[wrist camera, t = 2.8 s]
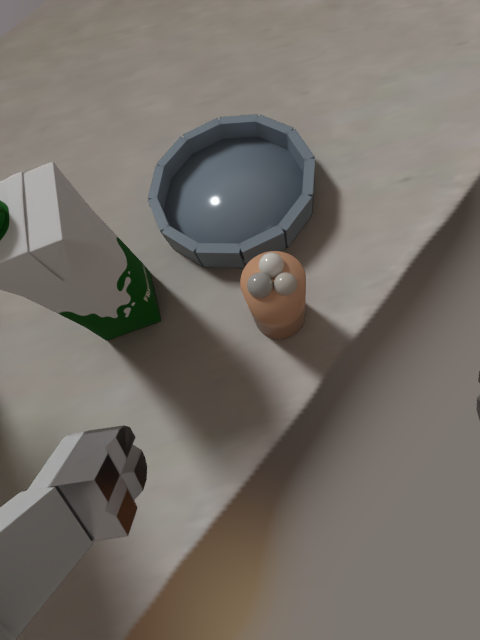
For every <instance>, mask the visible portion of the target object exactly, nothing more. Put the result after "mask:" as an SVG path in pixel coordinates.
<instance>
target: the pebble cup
mask: <svg viewBox="0 0 480 640" xmlns="http://www.w3.org/2000/svg"><path fill="white" fill-rule="evenodd" d="M240 284H241V290H242V293H243V295H244V297H245V300H246V302H247V304H248V307H249V309H250V311H251V313H252V316H253V318H254V320H255V323H256V325H257V327H258V329H259V330H260V331H261V332H262V333H263V334H264V335H266V336H268V337H270V338H273V339H286V338H289V337H291V336H293V335H295V334H296V333H297V332H298V331H299V330H300V329H301V328H302V326H303V324H304V321H305V296H306V276H305V271H304V269H303V267H302V265H301V263H300V262H299V261H298V260H297V259H296V258H295V257H293V256H292V255H290V254H288V253H285V252H280V251H269V252H265V253H262V254H259V255H257V256H256V257H254V258H253V259H252V260H250V261H249V262H248V264H247V265H246V266H245V268H244V270H243V272H242V275H241V280H240Z"/></svg>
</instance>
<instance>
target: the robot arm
mask: <svg viewBox="0 0 480 640" xmlns="http://www.w3.org/2000/svg"><path fill="white" fill-rule="evenodd" d="M478 381H479V383H480V371H479V379H478ZM477 413H478V416H479V420H480V395H479V396H478V397H477ZM134 440H135V436H134V434H133V432H132V430H131V428H130V427H128V426H125V425H124V426H117V427H110V428H103V429H96V430H89V431H84V432H78V433H71V434H69V435H67V436H65V437H64V438H63V439H62V440H61V442H60V443H59V445H58V446H57V448H56V449H55V451H54V452H53V454H52V455H51V456H50V458H49V459H48V461H47V462H46V464H45V465H44V467H43V468H42V469H41V471H40V472H39V474H38V475H37V477H36V478H35V480H34V481H33V482H32V484H31V485H30V487H29V488H28V490H27V491H23V492H20V493H18V494H17V495H16V496H14V497H13V498H12V499H11V500H9V501H8V502H7V503H5V504H4V505H3V506H2V507H0V640H17V639H16V638H17V637H18V636H19V635H20V633H21V632H22V631H23V630H24V628H25V627H26V626H27V625H28V623H29V622H30V621H31V620H32V618H33V617H34V616H35V615H36V614H37V612H38V611H39V610H40V609H41V607H42V606H43V605H44V604H45V602H46V601H47V600H48V599H49V597H50V596H51V595H52V594H53V593H54V591H55V590H56V589H57V588H58V586H59V585H60V584H61V583H62V581H63V580H64V579H65V578H66V576H67V575H68V574H69V573H70V571H71V570H72V569H73V568H74V567H75V565H76V564H77V563H78V562H79V560H80V559H81V558H82V557H83V555H84V554H85V553H86V552H87V550H88V549H89V548H90V547H91V546H92V544H93V543H92V542H93V541H99V540H106V539H112V538H119V537H125V536H128V535H129V532H130V529H131V526H132V523H133V520H134V517H135V514H136V511H137V505H136V503H135V500H134V499H135V498H136V497H137V496H138V495H139V494H140V493H141V492H142V491H143V489H144V486H145V483H146V480H147V464H146V459H145V456H144V454H143V452H142V450H141V449H139V448H137V447H136V446H134V445H133V442H134Z"/></svg>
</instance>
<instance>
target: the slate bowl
mask: <svg viewBox="0 0 480 640" xmlns="http://www.w3.org/2000/svg"><path fill="white" fill-rule="evenodd" d="M183 136H184V137H180V138H179V139H178V140H177V141H176V142H175V143H174V145H173V146H172V147H171V148H170V149H169V150H168V151H167V153H166V154H165V155H164V156H163V157H162V158H161V159H160V161H159V162H158V163H157V165H158V166H155V170H154V175H153V179H152V183H151V187H150V191H149V195H148V199H149V200H148V202H149V204H150V207H151V209H152V212H153V215H154V217H155V220H156V222H157V225H158V227H159V230H160V231H161V233H162V234H163V236H164V237H165V239H166V240H167V241H168V243H169V244H170V246H171V247H172V248H173V249H175V250H176V251H178V252H180V253H181V254H183V255H184V256H186V257H188V258H189V259H191V260H192V261H194V262H196V263H197V264H199V265H200V266H204V267H219V268H245V266H246V265H247V264H248V262H249V261H250V260H252V259H253V258H254V257H256V256H257V255H259V254H262V253H265V252H269V251H280V252H281V251H283V250H285V249H286V248H285V246H286V247H289V245H290V244H291V243H292V241H293V240H294V239H295V237H296V236H297V235H298V233H299V232H300V231H301V229H302V228H303V227H304V225H305V224H306V223H307V221H308V220H309V219H310V217H311V214H312V210H313V193H314V175H315V159H314V155H313V153H312V152H311V151H310V149H309V148H308V146H307V145H306V144H305V142H304V141H303V139H302V138H301V136H300V135H299V134H298V132H297V131H296V129H294V130H293V127H291V126H288V125H286V124H283V123H280V122H278V121H275V120H273V119H270V118H268V117H265V116H263V115H260V116H259V117H258V114H255V115H242V116H228V117H220V119H219V120H218V118H216V119H214V120H212V121H210V122H208V123H206V124H204V125H202V126H200V127H198V128H196V129H194V130H191V131H189V132H187V133H185V134H183Z"/></svg>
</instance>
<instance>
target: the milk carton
mask: <svg viewBox="0 0 480 640" xmlns="http://www.w3.org/2000/svg"><path fill="white" fill-rule="evenodd" d="M0 290H3V291H7V292H10V293H14V294H17V295H20V296H23V297H25V298H27V299H29V300H32V301H34V302H36V303H38V304H40V305H42V306H44V307H46V308H48V309H50V310H52V311H54V312H56V313H58V314H60V315H62V316H64V317H66V318H68V319H70V320H72V321H74V322H76V323H78V324H80V325H82V326H84V327H86V328H87V329H89V330H91V331H92V332H94V333H95V334H97V335H99V336H100V337H102V338H103V339H105V340H110V339H113V338H115V337H118V336H121V335H124V334H126V333H129V332H132V331H135V330H137V329H140V328H143V327H146V326H148V325H151V324H154V323H157V322H159V321H161V317H160V312H159V308H158V304H157V300H156V295H155V291H154V287H153V282H152V278H151V274H150V271H149V270H148V269H147V268H146V267H145V266H144V265H143V263H142V262H141V261H140V260H139V259H138V258H137V257H136V256H135V255H134V254H133V253H132V252H131V251H130V249H129V248H128V247H127V246H126V245H125V244H124V243H123V242H122V241H121V240H120V239H119V238H118V237H117V236H116V235H115V234H114V232H113V231H112V230H111V229H110V228H109V227H108V226H107V225H106V224H105V223H104V222H103V221H102V220H101V219H100V218H99V216H98V215H97V214H96V213H95V212H94V211H93V210H92V209H91V208H90V206H89V205H88V204H87V203H86V202H85V200H84V199H83V198H82V197H81V196H80V194H79V193H78V192H77V191H76V190H75V188H74V187H73V186H72V185H71V183H70V182H69V181H68V180H67V179H66V177H65V176H64V175H63V174H62V173H61V171H60V170H59V169H58V168H57V166H56V165H55V164H54V162H50V163H48V164H45V165H43V166H40V167H38V168H36V169H33V170H31V171H28V172H26V173H23V172H19V173H17V174H14V175H12V176H10V177H8V178H7V179H5V180H2V181H0Z"/></svg>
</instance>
